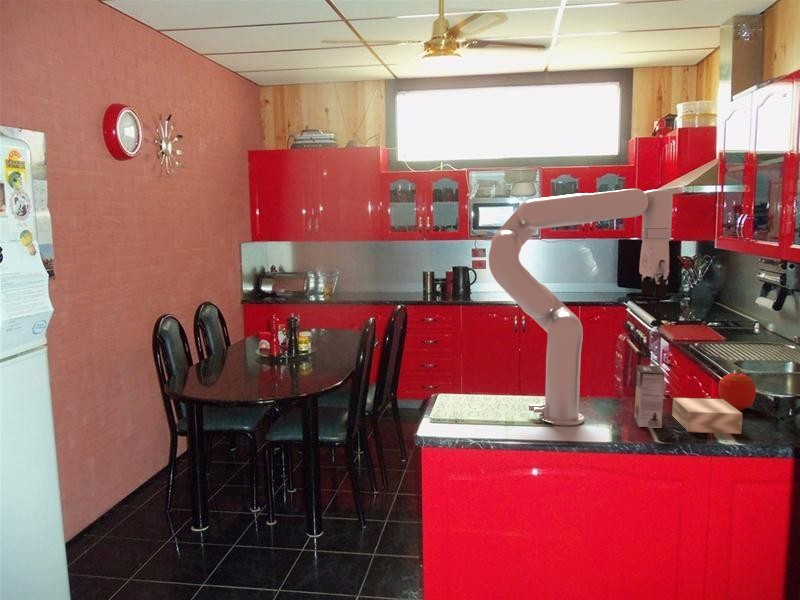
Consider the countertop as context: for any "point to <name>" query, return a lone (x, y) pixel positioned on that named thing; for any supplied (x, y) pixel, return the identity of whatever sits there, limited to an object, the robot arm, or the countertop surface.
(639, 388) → the coffee box
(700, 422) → the beech block
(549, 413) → the robot arm
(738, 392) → the apple
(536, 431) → the countertop surface
